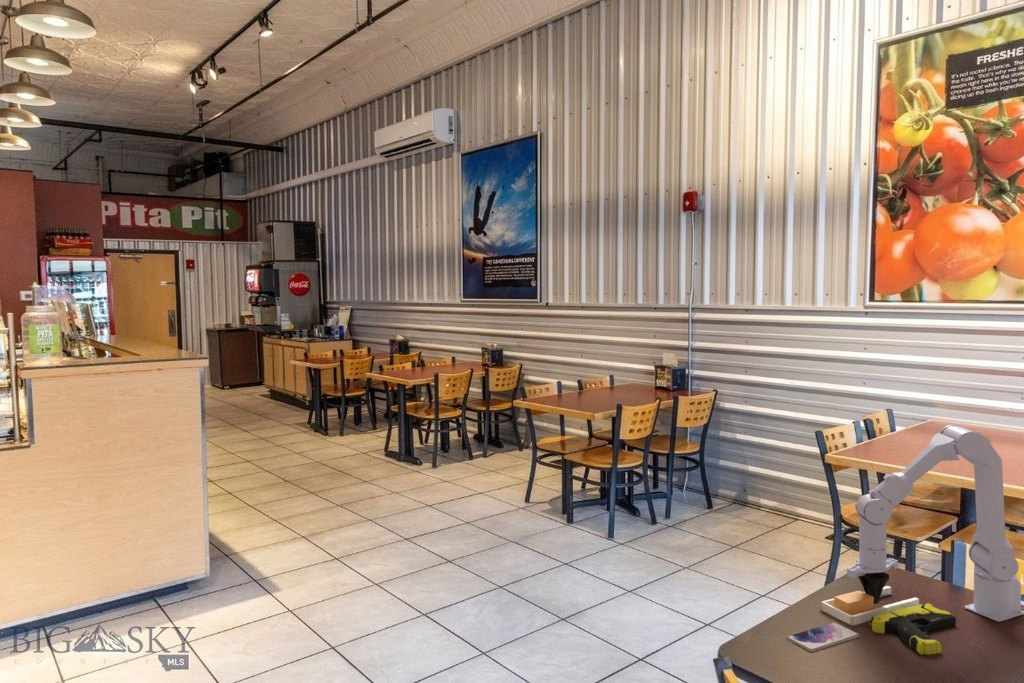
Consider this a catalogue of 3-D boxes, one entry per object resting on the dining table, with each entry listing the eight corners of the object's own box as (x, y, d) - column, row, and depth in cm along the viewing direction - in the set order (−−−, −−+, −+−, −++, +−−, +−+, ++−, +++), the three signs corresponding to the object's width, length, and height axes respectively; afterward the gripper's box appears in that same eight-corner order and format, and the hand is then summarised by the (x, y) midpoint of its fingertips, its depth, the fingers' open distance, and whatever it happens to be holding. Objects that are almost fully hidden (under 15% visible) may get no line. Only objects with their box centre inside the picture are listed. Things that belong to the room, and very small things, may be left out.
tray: (853, 601, 166) (853, 593, 166) (885, 616, 158) (885, 607, 158) (820, 609, 162) (820, 601, 162) (852, 625, 154) (852, 617, 154)
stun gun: (990, 629, 145) (926, 601, 160) (922, 646, 139) (863, 614, 153) (989, 643, 146) (926, 613, 160) (922, 660, 139) (863, 627, 154)
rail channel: (887, 592, 170) (887, 585, 170) (919, 606, 162) (919, 598, 162) (855, 601, 166) (855, 594, 166) (886, 615, 158) (886, 608, 158)
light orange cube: (859, 606, 163) (859, 590, 163) (873, 613, 160) (873, 596, 159) (846, 610, 162) (846, 593, 162) (861, 617, 158) (861, 600, 158)
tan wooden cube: (846, 609, 162) (846, 593, 162) (861, 616, 158) (861, 600, 158) (834, 613, 160) (834, 596, 160) (848, 620, 157) (848, 603, 156)
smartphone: (784, 636, 149) (833, 621, 155) (785, 640, 149) (834, 625, 155) (811, 650, 143) (861, 634, 149) (811, 654, 143) (861, 638, 149)
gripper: (879, 536, 168) (879, 590, 169) (836, 545, 162) (836, 601, 163) (905, 545, 161) (905, 601, 162) (861, 555, 156) (861, 613, 157)
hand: (872, 602), depth 162 cm, fingers closed
